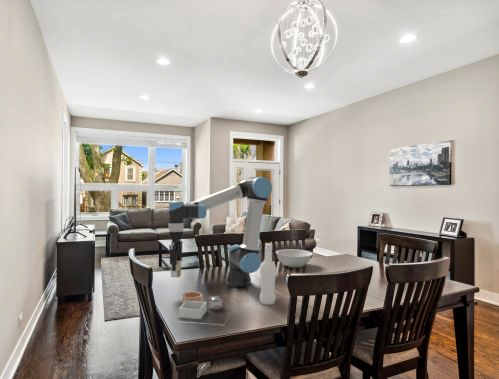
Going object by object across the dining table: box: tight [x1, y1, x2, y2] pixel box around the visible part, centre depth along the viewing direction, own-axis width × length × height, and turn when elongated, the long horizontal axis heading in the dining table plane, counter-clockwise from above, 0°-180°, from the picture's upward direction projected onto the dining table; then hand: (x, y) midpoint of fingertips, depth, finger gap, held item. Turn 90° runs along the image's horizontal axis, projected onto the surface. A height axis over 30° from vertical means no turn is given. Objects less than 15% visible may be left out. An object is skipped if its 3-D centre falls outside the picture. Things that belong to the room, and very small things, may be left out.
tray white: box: [178, 301, 208, 320], centre depth 153 cm, size 10×10×5 cm
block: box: [170, 260, 182, 279], centre depth 175 cm, size 4×4×8 cm
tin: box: [208, 295, 223, 311], centre depth 161 cm, size 6×6×5 cm
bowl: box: [275, 248, 314, 269], centre depth 250 cm, size 27×27×10 cm
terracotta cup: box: [181, 291, 203, 305], centre depth 165 cm, size 9×9×6 cm
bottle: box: [259, 242, 277, 306], centre depth 171 cm, size 8×8×30 cm
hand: (176, 275), depth 176 cm, fingers closed on block, 4 cm apart
